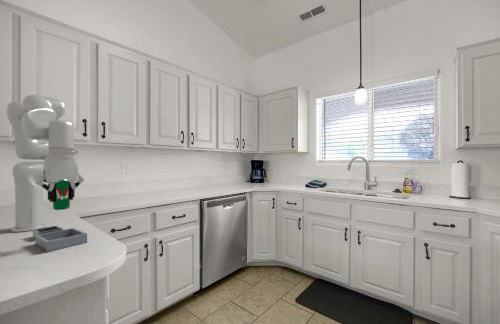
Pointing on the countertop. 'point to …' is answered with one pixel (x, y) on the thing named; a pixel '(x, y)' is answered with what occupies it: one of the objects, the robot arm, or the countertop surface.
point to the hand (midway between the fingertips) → (61, 200)
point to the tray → (60, 239)
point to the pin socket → (46, 230)
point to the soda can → (61, 195)
